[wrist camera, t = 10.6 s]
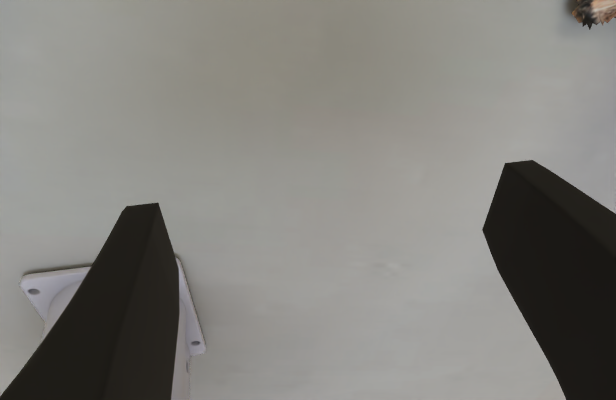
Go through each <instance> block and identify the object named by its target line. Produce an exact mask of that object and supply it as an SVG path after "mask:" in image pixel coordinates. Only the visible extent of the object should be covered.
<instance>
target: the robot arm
mask: <svg viewBox="0 0 616 400" xmlns="http://www.w3.org/2000/svg"><path fill="white" fill-rule="evenodd" d="M482 230H483V233H484V235H485V238H486V241H487V244H488V246H489V249H490V252H491V254H492V257H493V259H494V262H495V264H496V266H497V269H498V271H499V273H500V275H501V277H502V279H503V281H504V282H505V284H506V286H507V288H508V290H509V292H510V293H511V295H512V297H513V299H514V301H515V302H516V304H517V306H518V308H519V310H520V311H521V313H522V315H523V317H524V318H525V320H526V322H527V324H528V326H529V327H530V329H531V331H532V333H533V335H534V336H535V338H536V340H537V342H538V343H539V345H540V347H541V349H542V351H543V352H544V354H545V356H546V358H547V359H548V361H549V363H550V365H551V367H552V369H553V371H554V373H555V375H556V377H557V379H558V381H559V384H560V386H561V388H562V391H563V393H564V395H565V398H566V400H616V214H615V213H613V212H612V211H610V210H609V209H607V208H606V207H604V206H603V205H601V204H600V203H598V202H597V201H595V200H594V199H592V198H591V197H589V196H588V195H586V194H585V193H583V192H582V191H580V190H579V189H577V188H576V187H574V186H573V185H571V184H570V183H568V182H567V181H565V180H563V179H562V178H560V177H559V176H557V175H556V174H554V173H553V172H551V171H550V170H548V169H546V168H545V167H543V166H541V165H540V164H538V163H536V162H535V161H533V160H529V161H520V162H512V163H505V165H504V168H503V171H502V174H501V177H500V180H499V183H498V186H497V189H496V191H495V194H494V197H493V200H492V203H491V206H490V209H489V212H488V215H487V218H486V221H485V224H484V227H483V229H482ZM19 286H20V288H21V289H22V290H23V292H24V293H25V295H26V296H27V298H28V299H29V300H30V302H31V303H32V305H33V306H34V308H35V309H36V311H37V312H38V313H39V315H40V316H41V318H42V319H43V321H44V322H45V327H44V331H43V334H42V338H41V342H40V345H39V347H38V348H37V350H36V351H35V352H34V354H33V355H32V356H31V358H30V359H29V360H28V362H27V363H26V364H25V366H24V367H23V368H22V370H21V371H20V372H19V374H18V375H17V376H16V377H15V379H14V380H13V381H12V382H11V384H10V385H9V386H8V387H7V389H6V390H5V391H4V392H3V394H2V395H1V396H0V400H189V397H190V356H196V355H201V354H203V353H205V352H206V344H205V341H204V337H203V334H202V331H201V328H200V324H199V321H198V318H197V314H196V311H195V308H194V304H193V301H192V298H191V294H190V291H189V288H188V285H187V281H186V278H185V275H184V271H183V268H182V265H181V262H180V260H179V259H178V258H176V257H175V255H174V252H173V248H172V245H171V242H170V239H169V236H168V232H167V229H166V226H165V223H164V220H163V216H162V213H161V210H160V207H159V203H152V204H143V205H134V206H127V207H126V208H125V209H124V210H123V211H122V213H121V215H120V216H119V218H118V220H117V222H116V224H115V226H114V228H113V230H112V231H111V233H110V235H109V237H108V239H107V240H106V242H105V244H104V246H103V248H102V249H101V251H100V253H99V254H98V256H97V258H96V260H95V261H94V263H93V265H92V266H90V267H82V268H74V269H66V270H58V271H50V272H42V273H34V274H27V275H24V276H22V277H21V280H20V282H19Z"/></svg>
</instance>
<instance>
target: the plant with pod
mask: <svg viewBox="0 0 616 400" xmlns="http://www.w3.org/2000/svg"><path fill="white" fill-rule="evenodd" d="M576 1H577V2H578V3H579V5H578V6H577V7H576V9H575V10H574V11H573V12H572V14H573V15H574V17H575V18H576V19H577V21H578V22H579V23H580V22H583V26H585V25H586V24H587V25H588V27H589V30H590V28H591V26H592V23H594V24H596V25H597V24H598V23H599V22H601V23H602V25H603V24H604V21H606V22H607V23H608V22H609V21H610V20H611V19H612V18H613V17H614V18H616V0H576Z"/></svg>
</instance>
